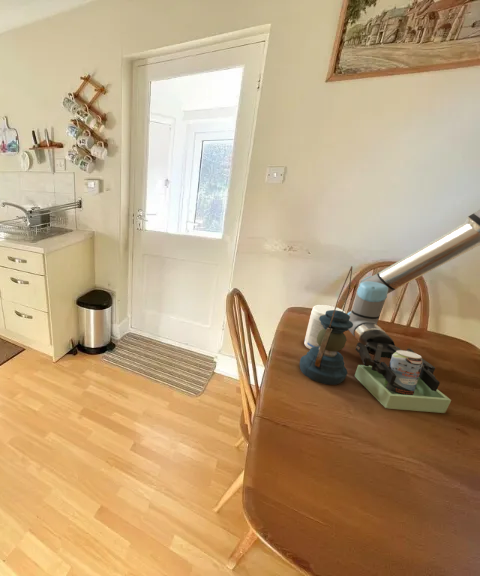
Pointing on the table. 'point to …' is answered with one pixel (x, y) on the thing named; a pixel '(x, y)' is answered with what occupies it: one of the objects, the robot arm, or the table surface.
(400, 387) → the beverage can
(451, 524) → the table surface
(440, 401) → the green square tray
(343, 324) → the lantern
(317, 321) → the supplement tub
